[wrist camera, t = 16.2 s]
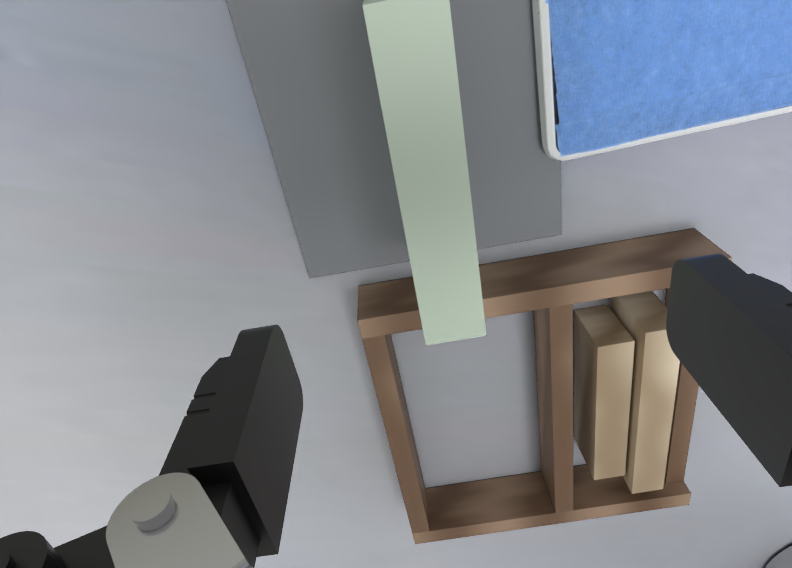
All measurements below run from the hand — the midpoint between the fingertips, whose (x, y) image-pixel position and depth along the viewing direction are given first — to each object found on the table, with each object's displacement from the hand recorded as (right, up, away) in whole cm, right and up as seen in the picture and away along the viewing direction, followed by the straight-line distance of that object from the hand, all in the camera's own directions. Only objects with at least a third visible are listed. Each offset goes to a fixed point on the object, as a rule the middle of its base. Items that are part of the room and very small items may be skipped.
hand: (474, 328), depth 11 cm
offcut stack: (+12, -5, +23) cm, 27 cm away
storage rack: (+7, -6, +24) cm, 25 cm away
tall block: (-1, +8, +14) cm, 17 cm away
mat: (-1, +9, +15) cm, 17 cm away
